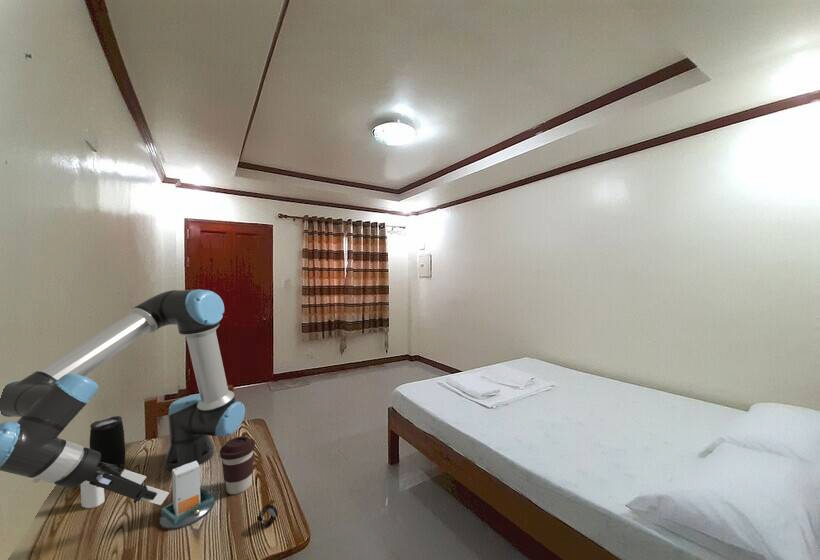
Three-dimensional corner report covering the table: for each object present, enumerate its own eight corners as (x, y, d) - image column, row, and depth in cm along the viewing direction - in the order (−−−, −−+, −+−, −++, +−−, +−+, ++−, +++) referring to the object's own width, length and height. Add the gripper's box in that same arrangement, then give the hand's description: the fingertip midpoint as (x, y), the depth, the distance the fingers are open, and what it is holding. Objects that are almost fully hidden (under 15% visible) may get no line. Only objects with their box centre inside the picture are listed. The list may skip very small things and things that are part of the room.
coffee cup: (241, 500, 95) (239, 451, 94) (213, 496, 97) (211, 448, 96) (263, 478, 104) (261, 434, 104) (237, 475, 106) (235, 432, 106)
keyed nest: (151, 518, 88) (150, 509, 88) (201, 490, 100) (200, 482, 100) (172, 537, 82) (172, 527, 82) (223, 504, 93) (223, 496, 93)
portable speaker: (123, 466, 114) (121, 412, 113) (128, 476, 108) (125, 420, 107) (89, 478, 107) (87, 421, 107) (93, 489, 101) (90, 430, 101)
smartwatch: (279, 524, 85) (278, 506, 85) (258, 534, 82) (258, 515, 82) (274, 515, 88) (274, 497, 88) (255, 524, 85) (254, 506, 85)
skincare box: (176, 517, 87) (174, 475, 87) (173, 510, 90) (171, 469, 90) (201, 505, 91) (199, 465, 91) (198, 498, 94) (196, 459, 94)
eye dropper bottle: (100, 496, 98) (98, 458, 98) (105, 503, 95) (103, 464, 95) (80, 505, 94) (78, 466, 94) (85, 512, 91) (83, 472, 91)
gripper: (37, 466, 74) (122, 490, 87) (69, 503, 62) (162, 524, 75) (68, 434, 79) (144, 461, 92) (104, 462, 66) (186, 489, 79)
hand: (152, 489), depth 83 cm, fingers open, 13 cm apart
